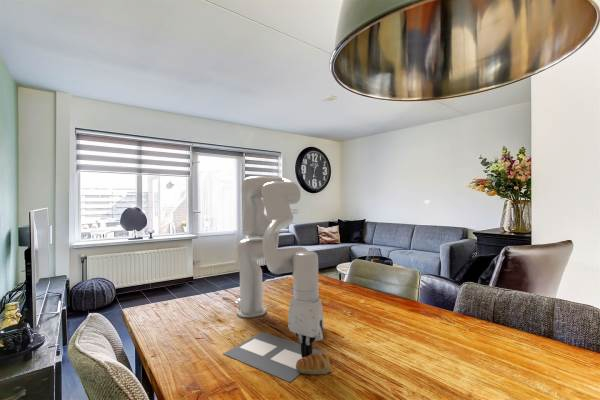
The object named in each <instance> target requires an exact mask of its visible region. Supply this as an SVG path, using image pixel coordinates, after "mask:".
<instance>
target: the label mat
mask: <svg viewBox="0 0 600 400" xmlns="http://www.w3.org/2000/svg"><path fill="white" fill-rule="evenodd" d="M323 352H324V353H325V351H323V350H319V349H316V348H314V347H312V353H321V354H322V353H323ZM222 354H223V355H224V356H226V357H228V358H231V359H234V360H235V361H238V362H240V363H243V364H245V365H248V366H250V367H252V368H255V369H257V370H260V371H262V372H264V373H266V374H268V375H271V376H273V377H276V378H278V379H280V380H282V381H285V382H287V383H290V384H291V383H292V382H293V381H294V380H296V378H297V377H298V376H300V375H301V374H302V373H301V372H300V371H298V370H297V369H296V363H297V361H298V360H300V359H302V358H303V357H301V343H297V342H295V341H291V340H290V339H286V338H282V337H279V336H276V335H274V334H269V333H268V332H264V331H261V332H259V333H257V334H256V335H253V336H252V337H249V339H247V340H245V341H243V342H242V343H239V344H237V345H236V346H234V347H232V348H230V349H228V350H226V351H225V352H223V353H222Z"/></svg>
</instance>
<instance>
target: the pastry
mask: <svg viewBox="0 0 600 400" xmlns="http://www.w3.org/2000/svg"><path fill="white" fill-rule="evenodd" d="M324 352H325V351H323V353H322V354H321V353H312V354H310V355H309V356H307V357H303V358H302V359H300V360H298V361H297V363H296V369H297V370H298V371H300V372H301V374H305V375H307V374H308V375H316V376H317V375H321V374H322V375H326V374H328V373H330V372H331V363H330V362H331V361H330V358H329V356H328V354H327V352H326V353H324Z"/></svg>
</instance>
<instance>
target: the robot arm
mask: <svg viewBox="0 0 600 400" xmlns="http://www.w3.org/2000/svg"><path fill="white" fill-rule="evenodd" d="M241 194H242V195H241V196H242V198H243V214H242V215H243V216H242V232H243V234H244V236H246V237H248V238H244V239H241V240H240V241H239V242H238V243H237V246H236V250H237V251H236V252H237V258H238V262H239V265H238V267H239V298H238V299H237V300H236V301H234V302H235V303H234V305H236V306H238V308H237V309H236V315H237V316H238V317H241V318H256V317H260V316H263V315H264V314H266V313H267V307H266V306H264V304H263V270H262V268H261V265H259V263H257V261H262V260H265V261H264V262H265V264H266V267H267V269H268V271H270V273H271V274H275V275H280V274H286V273H292V286H291V287H290V292H292V296H291V297H290V301H289V306H288V317H287V328H288V329H289V331H290V332H291V333H292V334H294V335H295V336H296V337H297V339H298V342H299V344H301V357H307V356H309V355H310V354H312V348H313V342H316V341H322V340H323V339H324V335H323V332H324V329H325V328H324V327H325V326H324V311H323V305H322V300H321V298H319V297H320V296H319V295H320V294H319V293H320V291H319V255H318V254H317V253H316V252H315V251H312V250H308V249H307V248H305V247H303V246H297V247H286V248H279V240H280V239H279V238H280V231H281V230H283V229H285V228H286V227H288V226H289V225H291V224H292V222H293V221H294V214H293V212H292V209H291V206H290V205H296V204H298V203H299V202H300V200H301V198H302V197H301V195H302V194H301V189H300V187H299V186H298V184H297V183H296V182H295V181H292V180H290V179H287V178H285V177H280V176H265V175H263V176H262V175H255V176H254V175H253V176H251V175H250V176H247V177H245V178H244V179H243V181H242V183H241ZM265 212H266V213H265ZM249 237H251V238H249Z"/></svg>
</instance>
